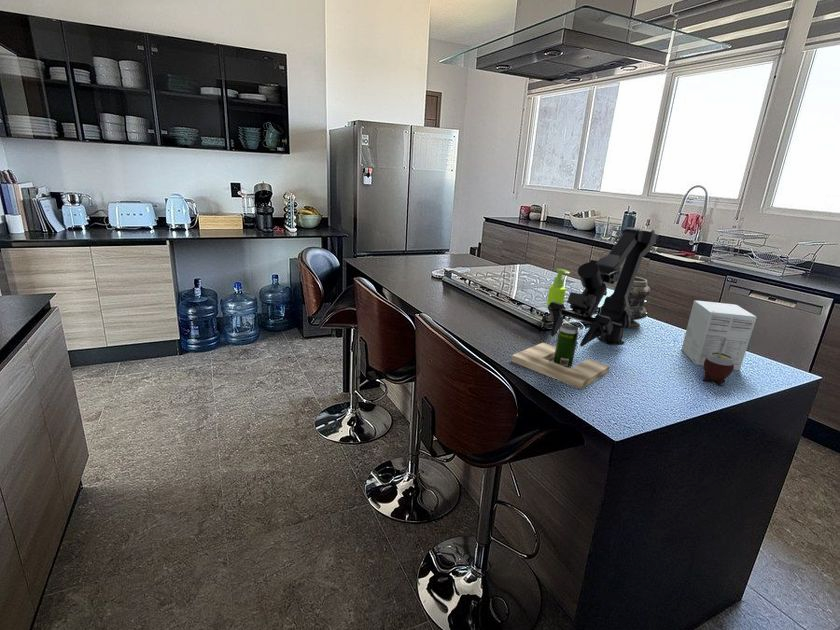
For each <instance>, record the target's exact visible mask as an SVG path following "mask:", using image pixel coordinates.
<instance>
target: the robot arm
mask: <svg viewBox="0 0 840 630" xmlns="http://www.w3.org/2000/svg"><path fill="white" fill-rule="evenodd" d="M657 238H658V235H657V233H655V230H653V229H648V228H643V227H642V228H641V227H629V226H628V227H625V228H624V229H623V231H622V235H621V236H620V237H619V239H618V240H617V242H616V243H615V244H614V246H613V247H612V249H611V250H610V251H609V253H608V254H607V255H606V256H603V257H600V258H599V259H598V260H596V259H590V261H589V262H586V263H583V264H581V265H579V267H578V269H577V274H578V278H579V279H580V284H581V286H582V287H583V288H584V289H583V291H582V292H581V293H577V292H573V291H571V292H569V296H568V299H567V301H566V303H567V304H569V308H570V309H571V310H569V309H566V307H565V305H564V303H563V304H561V303H557V302H554V301H553V302H551V303H550V304H549V305H548V307H547V308H548V310H549V312H550V314H551V316H552V317H553V323H552V325H551V331H550V332H551V333H550V337H551V338H553V337H554V336H555V335H556V334H558V332H559V328H560V326H561V325H562V324H564V320H565V319H566V317H567V318H571V319H574V320H578V321H581V322H583V323H586V324H590V326H589V329H587V332H586V333H585V335H584V337H583V338H582V340H581V341H580V344H579V346H580V347H584V346H586V345H587V344H588V343H590V342H592V341H594V339H598V340H600V341H602V342H604V343H605V344H608V345H621V344H625V343H626V342H625V341H623V340H622V339H623V334H624V330H625V329H630V328H629V325H630V322H631V318H630V314H629V309H630V306H629V302H628V296H629V293H630V290H631V288H632V285H633V282H634V279H635V277H637V273H638V271H639V268H640V265H641V263H642V260H643V259H644V257H645V256H646V255H647V254H648V253H650V252H651V250H652V248H653V246H654V245H655V244H656V242H657ZM623 263H624V264H623ZM622 264H623V266H622ZM621 266H622V268H621ZM616 282H617V283H616ZM615 283H616V285H615V288H614V290H613V293H612V294H611V295H609V296H607V294H608V291H607V290H608V287H607V285H606V284H609V285H614V284H615ZM605 296H606V297H605ZM604 297H605V298H604ZM603 298H604V301H603V304H602V305H601V307H600V309H599V305H600V303H601V301H602V299H603ZM598 310H599V313H598V314H595V312H598ZM594 314H595V316H594V317H593V315H594Z"/></svg>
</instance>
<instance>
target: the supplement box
mask: <svg viewBox="0 0 840 630" xmlns="http://www.w3.org/2000/svg"><path fill="white" fill-rule="evenodd" d="M691 307H692V308H691V311H690V314H689V320H688V322H687V323H688V324H687V327H686V329H685V334H684V337H683V338H684V339H683V343H682V346H681V349H680V350H681V351H682V352H683V353H684V354H685V356H687V357H688V359H690V361H691V362H693V364H694V365H697V366H703V367H704V361H705V359H706V357H707V356H708V355H709V354H710V353H713V352H717V353H719V351H720V348H721V343H722V342H723V339H724V338H726V341H725V345H724V346H723V350H722V354H726V355H728V356H730V357H731V358H732V359H733V361H734V368H733V371H740V370H741V368H742V364H743V363H744V359H745V355H746V352H747V349H748V346H749V342H750V340H751V338H752V337H751V336H752V333H753V330H754V328H755V324H756V320H757V317H758V316H756V315H755V314H753V313H752V312H749V311H747V310H746V309H744V308H743V307H741V306H740V305H738V304H733V303H725V302H724V303H723V302H716V301H715V302H713V301H706V300H705V301H704V300H693V303H692V306H691Z"/></svg>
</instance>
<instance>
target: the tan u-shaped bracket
mask: <svg viewBox="0 0 840 630" xmlns="http://www.w3.org/2000/svg"><path fill="white" fill-rule="evenodd" d="M555 349H556V345H555V346H554V345H552V344H548V343H547V342H541V343H537V344H536V345H534V346H531V347H529V348H526V349H524V350H521V351H518V352H516V353H514V354H512V356H511V362H512V363H514V364H517V365H520V366H522V367H525V368H527V369H529V370H532V371H534V372H536V373H540V374H542V375H543V376H547V377H549V378H551V377H552V379H554V380H556V379H557V381H559V382H561V381H562V383H564V384H567V385H569V386H571V387H573V388H576V389H579V390H582V389H584V388H586V387H587V386H589V385H591V384H592V383H594V382H595V381H597V380H599V379H601V378H602V377H604V376H605V375H607V374H609V373H610V369H611V368H610V367H611V366H610V365H608V364H606V363H602V362H600V361H596V360H594V359H592V358H587V359H585V360H583V361H581V362H579V363H577V364H576V365H574V366H571V367H570V368H567V367H564V366H562V365H559V364H556V363H554V361H550V360H554V355H555Z"/></svg>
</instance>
